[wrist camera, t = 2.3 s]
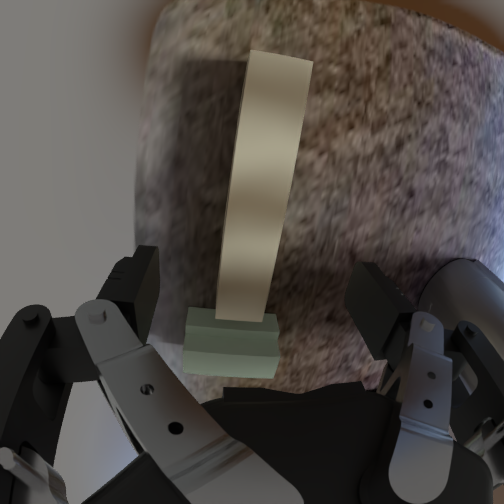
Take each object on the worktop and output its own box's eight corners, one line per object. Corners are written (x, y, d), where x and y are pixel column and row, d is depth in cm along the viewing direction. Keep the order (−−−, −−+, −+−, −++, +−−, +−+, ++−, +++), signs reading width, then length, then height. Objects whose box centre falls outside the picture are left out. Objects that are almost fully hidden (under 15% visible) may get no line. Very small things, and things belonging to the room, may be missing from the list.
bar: (246, 62, 17) (251, 49, 13) (296, 70, 17) (313, 61, 13) (217, 284, 25) (215, 318, 21) (257, 288, 26) (262, 322, 22)
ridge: (188, 306, 26) (183, 341, 22) (275, 313, 27) (283, 348, 23) (187, 344, 28) (183, 379, 24) (265, 350, 29) (270, 384, 25)
